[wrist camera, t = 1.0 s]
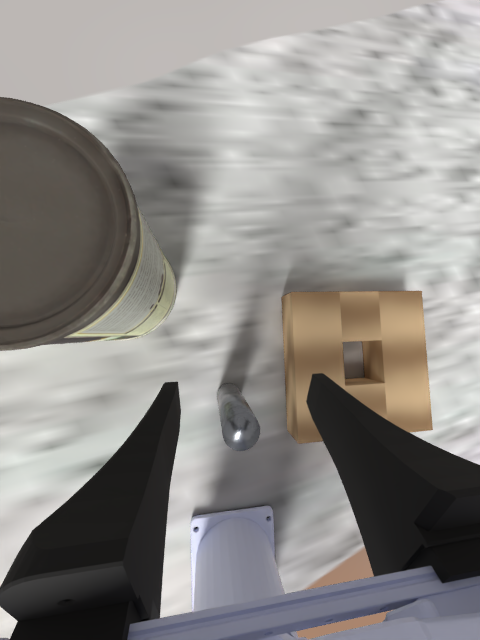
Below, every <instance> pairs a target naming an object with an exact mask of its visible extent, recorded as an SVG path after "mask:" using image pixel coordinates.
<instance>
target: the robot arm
mask: <svg viewBox="0 0 480 640" xmlns="http://www.w3.org/2000/svg"><path fill="white" fill-rule="evenodd" d="M306 403H307V406H308V408H309V411H310V414H311V417H312V419H313V421H314V423H315V425H316V427H317V430H318V432H319V434H320V435H321V437H322V439H323V441H324V443H325V445H326V447H327V449H328V451H329V453H330V455H331V457H332V459H333V461H334V463H335V466H336V468H337V470H338V473H339V475H340V478H341V480H342V483H343V485H344V488H345V490H346V493H347V496H348V499H349V501H350V504H351V507H352V509H353V512H354V515H355V518H356V521H357V524H358V527H359V530H360V533H361V536H362V539H363V542H364V545H365V548H366V551H367V555H368V557H369V561H370V564H371V568H372V571H373V574H374V577H370V578H365V579H359V580H354V581H349V582H344V583H339V584H333V585H329V586H323V587H318V588H313V589H308V590H303V591H297V592H292V593H287V594H285V592H284V589H283V586H282V582H281V579H280V576H279V572H278V569H277V566H276V562H275V545H274V520H273V510H272V508H271V507H270V506H262V507H254V508H247V509H240V510H233V511H225V512H218V513H211V514H204V515H196V516H194V517H193V518H192V519H191V571H192V612H189V613H184V614H179V615H174V616H169V617H164V618H160V606H161V591H162V576H163V562H164V548H165V535H166V524H167V512H168V501H169V490H170V482H171V475H172V470H173V464H174V459H175V453H176V447H177V442H178V436H179V429H180V415H181V408H180V398H179V388H178V382H165V383H164V384H163V386H162V388H161V390H160V392H159V394H158V395H157V397H156V399H155V400H154V402H153V404H152V405H151V407H150V408H149V410H148V411H147V413H146V414H145V416H144V417H143V419H142V420H141V421H140V423H139V424H138V426H137V427H136V428H135V430H134V431H133V432H132V434H131V435H130V436H129V437H128V439H127V440H126V441H125V442H124V444H123V445H122V446H121V447H120V448H119V449H118V451H117V452H116V453H115V454H114V455H113V456H112V457H111V458H110V459H109V461H108V462H107V463H106V464H105V465H104V466H103V467H102V468H101V469H100V470H99V471H98V472H97V473H96V474H95V475H94V476H93V477H92V478H91V479H90V480H89V481H88V482H87V483H86V484H85V485H84V486H83V487H82V488H81V489H79V490H78V491H77V492H76V493H75V494H74V495H73V496H72V497H71V498H70V499H69V500H68V501H67V502H65V503H64V504H63V505H62V506H61V507H60V508H58V509H57V510H56V511H55V512H54V513H53V514H51V515H50V516H49V517H48V518H47V519H45V520H44V521H43V522H42V523H41V524H40V525H38V526H37V527H36V528H35V529H33V530H32V532H31V534H30V535H29V537H28V539H27V540H26V542H25V543H24V545H23V546H22V548H21V550H20V551H19V553H18V555H17V556H16V558H15V560H14V562H13V564H12V566H11V568H10V570H9V572H8V573H7V575H6V577H5V579H4V581H3V583H2V585H1V587H0V606H1V608H3V609H4V610H5V611H6V612H8V613H9V614H10V615H11V616H12V617H14V618H15V619H16V620H17V621H18V622H17V624H16V627H15V629H14V631H13V633H12V636H11V638H10V639H8V638H0V640H307V638H306V637H302V638H298V636H297V632H296V631H299V630H303V629H308V628H312V627H317V626H322V625H326V624H331V623H335V622H339V621H345V620H349V619H354V618H358V617H362V616H367V615H372V614H376V613H381V612H385V611H390V610H393V611H391V612H388V613H387V614H386V618H385V620H384V621H383V622H382V623H377V624H373V625H368V626H364V627H359V628H355V629H350V630H345V631H341V632H336V633H332V634H328V635H324V636H320V637H316V638H312V639H308V640H480V465H478V464H475V463H473V462H471V461H468V460H466V459H463V458H461V457H458V456H456V455H454V454H451V453H449V452H447V451H445V450H443V449H440V448H438V447H436V446H434V445H432V444H430V443H428V442H426V441H424V440H422V439H420V438H418V437H416V436H414V435H413V434H411V433H409V432H407V431H405V430H403V429H402V428H400V427H398V426H396V425H395V424H393V423H391V422H390V421H388V420H387V419H385V418H383V417H382V416H380V415H379V414H377V413H376V412H374V411H373V410H371V409H370V408H368V407H367V406H366V405H364V404H363V403H361V402H360V401H359V400H357V399H356V398H355V397H353V396H352V395H351V394H349V393H348V392H347V391H345V390H344V389H343V388H342V387H340V386H339V385H338V384H336V383H335V382H334V381H333V380H331V379H330V378H329V377H327V376H326V375H325V374H323V373H317V374H312V378H311V382H310V386H309V391H308V395H307V400H306ZM267 516H270V517H269V518H268V519H267V518H266V517H267ZM194 527H198V529H194ZM395 609H396V610H395Z"/></svg>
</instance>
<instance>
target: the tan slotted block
mask: <svg viewBox="0 0 480 640" xmlns="http://www.w3.org/2000/svg"><path fill="white" fill-rule="evenodd" d="M282 318H283V341H284V364H285V386H286V409H287V431H288V432H289V433H290V434H291V435H292V437H293V438H294V439H295V440H296V441H297V443H298V444H301V443H310V442H320V441H323V439H322V437H321V435H320V434H319V432H318V430H317V427H316V425H315V423H314V421H313V419H312V417H311V414H310V411H309V408H308V406H307V403H306V400H307V395H308V391H309V386H310V382H311V378H312V374H317V373H323V374H325V375H326V376H327V377H329V378H330V379H331V380H333V381H334V382H335V383H336V384H338V385H339V386H340V387H342V388H343V389H344V390H345V391H347V392H348V393H349V394H351V395H352V396H353V397H355V398H356V399H357V400H359V401H360V402H361V403H363V404H364V405H366V406H367V407H368V408H370V409H371V410H373V411H374V412H376V413H377V414H379V415H380V416H382V417H383V418H385V419H387V420H388V421H390V422H391V423H393V424H395V425H396V426H398V427H400V428H402V429H403V430H405V431H407V432H418V431H427V430H433V429H432V416H431V404H430V391H429V378H428V366H427V353H426V340H425V328H424V315H423V303H422V291H353V292H290V293H289V294H287V295H285V296H283V297H282ZM351 341H362V346H363V362H364V378H352V379H345V377H344V360H343V342H351Z"/></svg>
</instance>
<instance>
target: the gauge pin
mask: <svg viewBox="0 0 480 640" xmlns="http://www.w3.org/2000/svg"><path fill="white" fill-rule="evenodd" d="M217 400H218V407H219V413H220V420H221V426H222V433H223V438H224V441H225V443H226V444H227V445H228V446H229V447H230V448H231V449H233V450H237V451H244V450H247V449H249V448H251V447H252V446H254V444H255V443H256V442H257V440H258V438H259V435H260V426H259V423H258V421H257V419H256V417H255V416H254V414H253V412H252V411H251V409H250V407H249V405H248V404H247V402H246V400H245V399H244V397H243V395H242V393H241V392H240V390H239V388H238V387H237V386H236V385H234V384H231V383H228V384H224V385H222V386H221V387H220V388H219V390H218V392H217Z"/></svg>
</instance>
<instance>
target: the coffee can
mask: <svg viewBox="0 0 480 640" xmlns="http://www.w3.org/2000/svg"><path fill="white" fill-rule="evenodd" d="M175 297H176V281H175V276H174V273H173V270H172V267H171V266H170V264H169V262H168V261H167V259H166V258H165V256H164V255H163V253H162V251H161V249H160V247H159V245H158V243H157V241H156V239H155V237H154V236H153V234H152V232H151V230H150V228H149V226H148V224H147V223H146V221H145V219H144V217H143V215H142V213H141V211H140V209H139V208H138V206H137V203H136V200H135V196H134V194H133V191H132V188H131V186H130V184H129V182H128V180H127V178H126V176H125V173H124V172H123V170H122V168H121V166H120V165H119V163H118V162H117V161H116V159H115V158H114V157H113V155H112V154H111V153H110V152H109V150H108V149H107V148H106V147H105V146H104V145H103V144H102V143H101V142H100V141H99V140H98V139H97V138H96V137H95V136H94V135H93V134H91V133H90V132H89V131H88V130H87V129H85V128H84V127H82V126H81V125H79V124H78V123H76V122H74V121H73V120H71V119H69V118H68V117H66V116H64V115H62V114H60V113H58V112H56V111H53V110H51V109H48V108H46V107H43V106H40V105H36V104H33V103H30V102H26V101H22V100H17V99H12V98H4V97H0V351H5V350H17V349H26V348H31V347H35V346H40V345H48V344H64V343H77V342H90V341H107V340H130V339H135V338H139V337H142V336H144V335H147V334H148V333H150V332H152V331H153V330H155V329H156V328H157V327H159V326H160V325H161V324H162V323H163V322H164V320H165V319H166V318H167V316H168V315H169V313H170V312H171V310H172V308H173V305H174V301H175Z"/></svg>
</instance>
